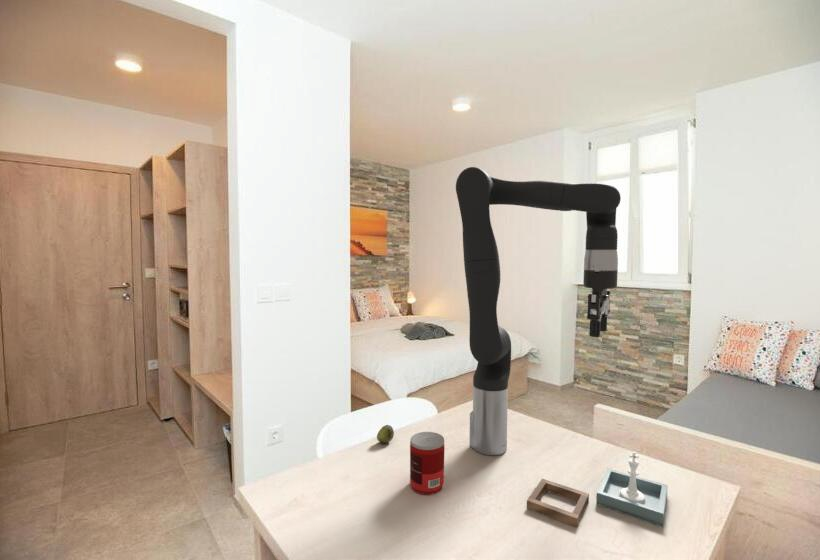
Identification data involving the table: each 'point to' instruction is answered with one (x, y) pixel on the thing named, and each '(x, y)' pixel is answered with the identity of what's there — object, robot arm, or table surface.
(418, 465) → the canned food
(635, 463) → the chess piece
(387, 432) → the lime
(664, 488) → the tray
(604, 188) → the robot arm
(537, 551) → the table surface
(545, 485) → the collar
